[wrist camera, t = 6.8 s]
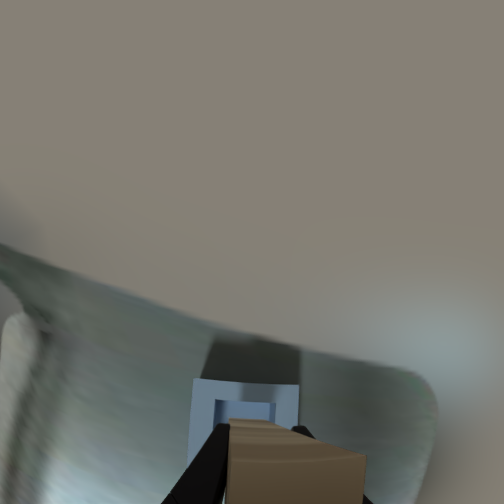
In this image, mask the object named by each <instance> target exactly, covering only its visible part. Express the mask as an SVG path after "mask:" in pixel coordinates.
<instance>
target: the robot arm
mask: <svg viewBox="0 0 504 504" xmlns="http://www.w3.org/2000/svg"><path fill="white" fill-rule="evenodd" d="M230 427H231V426H230V424H228V423H218V424H217V425H216V426H215V428H214V429H213V431H212V432H211V434H210V435H209V437H208V438H207V440H206V441H205V443H204V444H203V446H202V447H201V449H200V450H199V452H198V453H197V455H196V456H195V458H194V459H193V460H192V462H191V463H190V465H189V466H188V468H187V469H186V470H185V472H184V473H183V475H182V476H181V478H180V479H179V480H178V482H177V483H176V484H175V486H174V487H173V489H172V490H171V491H170V493H169V494H168V495H167V497H166V498H165V499H164V501H163V502H162V503H161V504H222V501H223V497H224V492H225V487H226V477H227V465H228V451H229V431H230ZM291 431H293V432H297V433H299V434H302V435H305V436H307V437H310V438H313V439H315V438H314V436H313V435H312V434H311V433H310V432H309V430H308V429H307V428H306V427H305V426H293V427H292V428H291ZM362 504H373V503H372V502H371V501H370V500H369V499H368V498H367V497H366V496H365V495H364V494H363V501H362Z"/></svg>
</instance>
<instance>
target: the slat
mask: <svg viewBox="0 0 504 504" xmlns="http://www.w3.org/2000/svg"><path fill="white" fill-rule="evenodd" d="M228 424H230V426H231V427H230V431H229V451H228V465H227V477H226V487H225V504H362V501H363V493H364V483H365V473H366V460H367V456H366V455H363V454H359V453H356V452H352V451H349V450H346V449H342V448H339V447H336V446H333V445H330V444H327V443H324V442H321V441H318V440H316V439H313V438H310V437H307V436H305V435H302V434H299V433H297V432H293V431H291V430H289V429H286V428H284V427H282V426H279V425H277V424H274V423H272V422H270V421H267V420H265V419H244V418H230V417H229V422H228Z"/></svg>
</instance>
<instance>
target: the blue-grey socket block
mask: <svg viewBox="0 0 504 504" xmlns="http://www.w3.org/2000/svg"><path fill="white" fill-rule="evenodd" d="M298 402H299V385H281V384H257V383H241V382H229V381H218V380H208V379H199V378H194V381H193V392H192V403H191V415H190V428H189V441H188V456H187V468H188V466H189V465H190V463H191V462H192V460H193V459H194V458H195V456H196V455H197V453H198V452H199V450H200V449H201V447H202V446H203V444H204V443H205V441H206V440H207V438H208V437H209V435H210V434H211V432H212V431H213V429H214V428H215V426H216V425H217V424H218V423H228V422H229V417H230V418H244V419H265V420H267V421H270V422H272V423H274V424H277V425H279V426H282V427H284V428H286V429H289V430H291V428H292V427H293V426H297V424H298Z"/></svg>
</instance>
